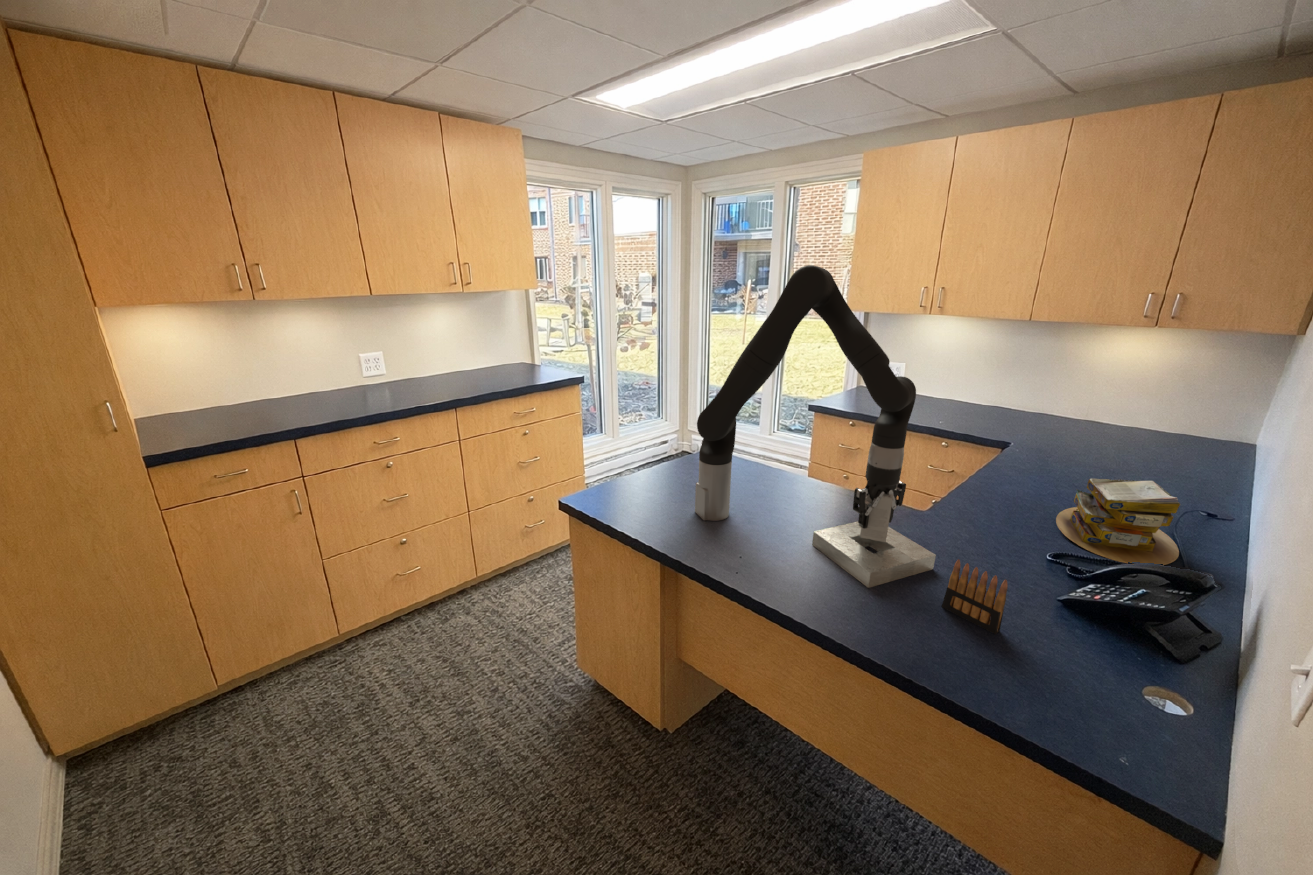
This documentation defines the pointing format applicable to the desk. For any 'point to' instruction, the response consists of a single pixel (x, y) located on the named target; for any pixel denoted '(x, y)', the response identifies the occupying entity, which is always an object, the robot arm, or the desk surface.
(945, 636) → the desk surface
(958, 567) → the ammunition clip
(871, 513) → the skincare box
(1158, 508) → the stacked yellow boxes
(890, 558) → the frame
